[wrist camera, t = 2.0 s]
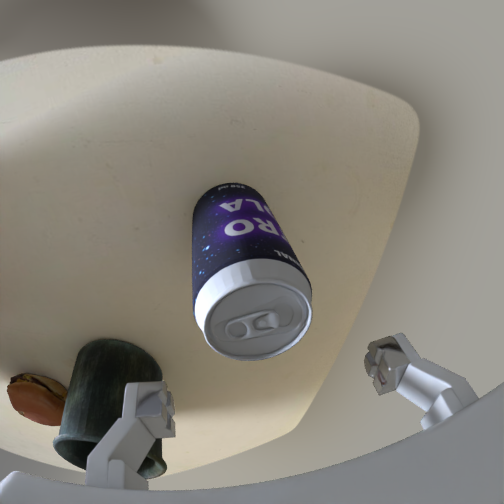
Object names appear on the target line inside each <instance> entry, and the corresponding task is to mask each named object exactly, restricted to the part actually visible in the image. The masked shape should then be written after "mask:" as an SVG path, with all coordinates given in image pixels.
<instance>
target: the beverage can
mask: <svg viewBox="0 0 504 504" xmlns="http://www.w3.org/2000/svg"><path fill="white" fill-rule="evenodd" d="M192 289H193V314H194V317H195V320H196V323H197V324H198V326H199V327H200V329H201V330H202V331H203V334H204V337H205V339H206V341H207V342H208V344H209V345H210V346H211V347H212V349H214V350H215V351H216V352H218V353H219V354H221V355H223V356H225V357H228V358H231V359H235V360H241V361H256V360H263V359H268V358H271V357H274V356H277V355H279V354H281V353H283V352H285V351H287V350H289V349H290V348H291V347H293V346H294V345H295V344H297V343H298V342H299V341H300V340H301V339H302V337H303V336H304V335H305V334H306V332H307V330H308V329H309V326H310V324H311V320H312V305H311V301H312V288H311V284H310V281H309V279H308V277H307V275H306V273H305V272H304V270H303V268H302V266H301V264H300V262H299V261H298V259H297V257H296V255H295V253H294V251H293V250H292V248H291V246H290V244H289V242H288V241H287V239H286V237H285V235H284V234H283V232H282V230H281V228H280V226H279V225H278V223H277V221H276V219H275V218H274V216H273V214H272V212H271V211H270V209H269V207H268V205H267V204H266V202H265V200H264V198H263V197H262V196H261V195H260V194H259V193H258V192H257V191H256V190H255V189H253V188H251V187H249V186H247V185H244V184H239V183H226V184H221V185H218V186H216V187H214V188H212V189H210V190H209V191H207V192H206V193H205V194H204V195H203V196H202V197H201V198H200V199H199V201H198V202H197V204H196V206H195V209H194V212H193V220H192Z"/></svg>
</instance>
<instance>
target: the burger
mask: <svg viewBox="0 0 504 504" xmlns="http://www.w3.org/2000/svg"><path fill="white" fill-rule="evenodd" d="M7 388H8V389H7V392H8V395H9V398H10V401H11V404H12V406H13V408H14V409H15V410H16V411H18V412H19V414H21V415H23V416H24V417H26V418H28V419H30V420H32V421H34V422H37V423H40V424H43V425H48V426H60V425H61V421H62V416H63V411H64V407H65V402H66V398H67V393H68V391H67V390H66V389H65V388H64V387H63V386H62V385H61V384H60V383H58V382H56V381H54V380H52V379H49V378H46V377H42V376H37V375H31V374H27V373H24V374H19V375H17V376H14V377H11V382H10V385H8V386H7Z"/></svg>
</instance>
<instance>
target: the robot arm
mask: <svg viewBox="0 0 504 504" xmlns="http://www.w3.org/2000/svg"><path fill="white" fill-rule="evenodd" d="M368 350H369V352H368V353H367V354H366V355H365V359H364V364H365V369H366V372H367V374H368V376H370V377H372V378H374V381H373V385H374V387H375V389H376V391H377V393H378V395H382V394H385V393H388V392H391V391H394V390H396V391H397V392H399V393H400V394H401V395H403V396H404V397H406V398H407V399H409V400H410V401H412V402H413V403H415V404H416V405H417V406H419V407H421V408H422V409H423V410H425V411H426V412H427V413H426V414H425V415H424V417H423V418H422V419H421V422H420V423H421V425H422V427H423V429H424V430H422V431H420V432H419V433H416V434H414V435H412V436H410V437H407V438H405V439H403V440H401V441H398V442H396V443H394V444H391V445H389V446H386V447H384V448H382V449H379V450H376V451H374V452H371V453H368V454H366V455H363V456H360V457H357V458H354V459H351V460H348V461H345V462H342V463H339V464H335V465H332V466H329V467H326V468H322V469H318V470H315V471H311V472H307V473H303V474H299V475H295V476H290V477H285V478H280V479H276V480H270V481H265V482H259V483H253V484H246V485H239V486H232V487H222V488H212V489H198V490H177V491H176V490H174V491H150V490H148V481H147V480H146V479H145V478H143V477H142V476H141V475H139V474H138V473H137V470H138V469H139V467H140V465H141V464H142V462H143V460H144V459H145V457H146V455H147V454H148V452H149V450H150V448H151V447H152V445H153V443H154V442H155V439H157V438H171V437H176V435H175V422H174V420H173V418H172V417H173V415H174V414H175V406H174V400H173V397H172V394H171V392H169V391H167V384H166V382H165V381H157V382H137V383H127V385H126V387H125V395H124V404H123V414H122V418H118V420H117V421H116V422H115V423H114V425H113V426H112V427H111V428H110V430H109V431H108V432H107V433H106V435H105V436H104V437H103V438H102V440H101V441H100V442H99V443H98V444H97V446H96V447H95V448H94V449H93V451H92V452H91V453H90V454H89V456H88V458H87V467H86V479H85V485H80V484H73V483H68V482H62V481H57V480H52V479H48V478H43V477H38V476H35V475H31V474H27V473H24V472H19V471H14V472H12V473H10V474H9V475H8V476H7V477H6V478H5V479H4V480H2V481H1V483H0V504H504V382H503V383H502V384H500V385H499V386H497V387H496V388H495V389H493V390H492V391H490V392H489V393H487V394H486V395H484V396H483V397H481V398H478V397H477V395H476V394H475V392H474V390H473V389H472V387H471V386H470V385H469V383H468V382H467V381H466V379H465V378H464V377H462V376H460V375H457V374H455V373H453V372H451V371H449V370H447V369H445V368H443V367H441V366H439V365H437V364H435V363H433V362H431V361H429V360H427V359H425V358H423V359H421V358H420V356H419V355H418V354H417V352H416V350H415V349H414V348H413V346H412V345H411V344H410V342H409V341H408V339H407V338H406V336H405V335H404V334H403V333H399V334H396V335H393V336H388V337H385V338H382V339H379V340H376V341H373V342H370V344H369V345H368Z"/></svg>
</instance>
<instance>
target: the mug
mask: <svg viewBox="0 0 504 504" xmlns="http://www.w3.org/2000/svg"><path fill="white" fill-rule="evenodd" d="M157 381H162V372H161V369H160V367H159V366H158V364H157V363H156V361H155V360H154V359H153V358H152V357H151V356H150V355H149V354H148V353H146V352H145V351H144V350H142V349H140V348H139V347H137V346H134V345H132V344H129V343H126V342H123V341H118V340H97V341H94V342H91V343H89V344H88V345H86V346H84V347H83V348H82V349H81V350H80V351H79V353H78V355H77V359H76V362H75V366H74V370H73V373H72V377H71V381H70V385H69V389H68V393H67V398H66V402H65V407H64V411H63V416H62V421H61V426H60V431H59V436H57V437H56V438H55V439H54V441H53V447H54V449H55V451H56V452H57V453H58V454H59V455H60V456H61V457H62V458H64V459H65V460H67V461H68V462H70V463H71V464H73V465H75V466H77V467H79V468H82V469H84V470H86V467H87V458H88V456H89V454H90V453H91V452H92V451H93V449H94V448H95V447H96V446H97V444H98V443H99V442H100V441H101V440H102V438H103V437H104V436H105V435H106V433H107V432H108V431H109V430H110V428H111V427H112V426H113V425H114V423H115V422H116V421H117V420H118V418H122V414H123V404H124V395H125V387H126V385H127V383H137V382H157ZM166 470H167V465H166V463H165V461H164V460H163V459H162V438H157V439H155V442H154V443H153V445H152V447H151V448H150V450H149V452H148V454H147V455H146V457H145V459H144V460H143V462H142V464H141V465H140V467H139V469H138V470H137V473H138V474H139V475H141V476H142V477H143V478H145V479H152V478H156V477H159V476H161V475H163V474H164V473H165V472H166Z"/></svg>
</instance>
